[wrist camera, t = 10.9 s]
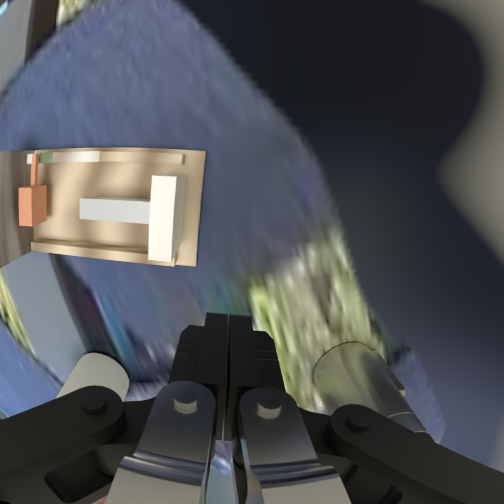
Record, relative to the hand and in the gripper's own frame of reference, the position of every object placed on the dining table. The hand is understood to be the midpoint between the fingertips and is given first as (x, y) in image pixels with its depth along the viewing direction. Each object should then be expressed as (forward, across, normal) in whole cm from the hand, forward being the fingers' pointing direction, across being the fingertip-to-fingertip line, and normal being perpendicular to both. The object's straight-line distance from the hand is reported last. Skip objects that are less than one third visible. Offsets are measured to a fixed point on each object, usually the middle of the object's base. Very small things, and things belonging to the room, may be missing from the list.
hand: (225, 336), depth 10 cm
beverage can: (+22, +16, +23) cm, 36 cm away
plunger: (+20, +10, -1) cm, 22 cm away
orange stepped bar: (+19, +22, -3) cm, 29 cm away
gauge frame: (+22, +15, -1) cm, 26 cm away
